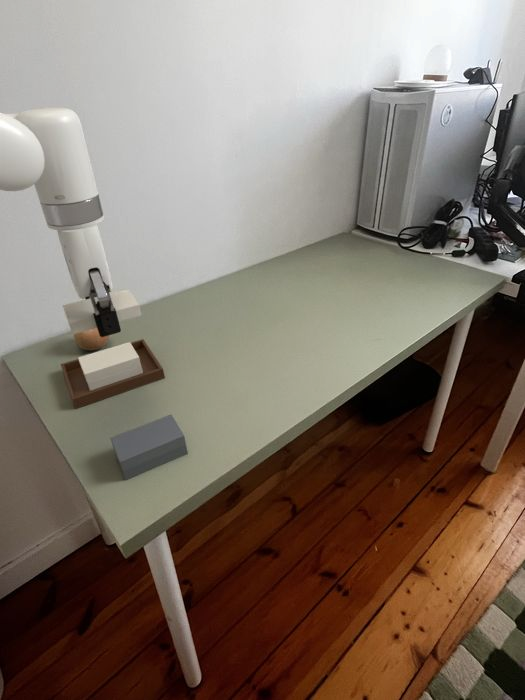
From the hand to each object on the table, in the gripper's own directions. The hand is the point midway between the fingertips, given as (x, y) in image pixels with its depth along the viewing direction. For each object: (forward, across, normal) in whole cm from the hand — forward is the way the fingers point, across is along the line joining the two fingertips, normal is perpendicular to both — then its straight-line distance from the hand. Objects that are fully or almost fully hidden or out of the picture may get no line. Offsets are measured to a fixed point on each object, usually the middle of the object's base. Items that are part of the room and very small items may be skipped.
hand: (105, 323), depth 69 cm
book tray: (+18, -11, 0) cm, 21 cm away
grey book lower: (+18, +14, 0) cm, 22 cm away
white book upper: (+15, -11, 0) cm, 19 cm away
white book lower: (+17, -11, 0) cm, 21 cm away
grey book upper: (+16, +14, 0) cm, 21 cm away
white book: (-1, 0, 0) cm, 1 cm away
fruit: (+18, -25, -1) cm, 31 cm away
